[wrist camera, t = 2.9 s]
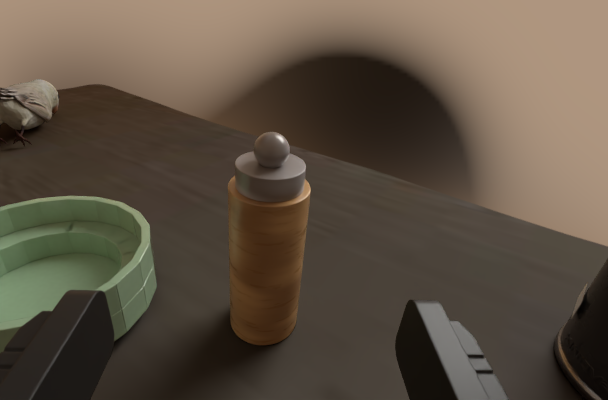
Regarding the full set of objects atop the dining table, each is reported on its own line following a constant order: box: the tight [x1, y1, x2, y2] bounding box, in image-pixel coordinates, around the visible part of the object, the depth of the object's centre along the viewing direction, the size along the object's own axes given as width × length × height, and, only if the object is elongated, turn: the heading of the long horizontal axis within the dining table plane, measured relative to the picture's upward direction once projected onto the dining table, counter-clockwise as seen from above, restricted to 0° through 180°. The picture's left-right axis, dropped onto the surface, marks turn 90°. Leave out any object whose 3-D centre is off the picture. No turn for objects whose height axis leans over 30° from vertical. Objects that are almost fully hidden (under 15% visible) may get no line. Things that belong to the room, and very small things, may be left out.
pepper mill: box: [228, 132, 311, 345], centre depth 23 cm, size 5×5×14 cm
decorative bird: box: [0, 79, 59, 147], centre depth 52 cm, size 5×16×8 cm, turn 11°
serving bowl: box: [0, 196, 157, 353], centre depth 25 cm, size 14×14×5 cm
